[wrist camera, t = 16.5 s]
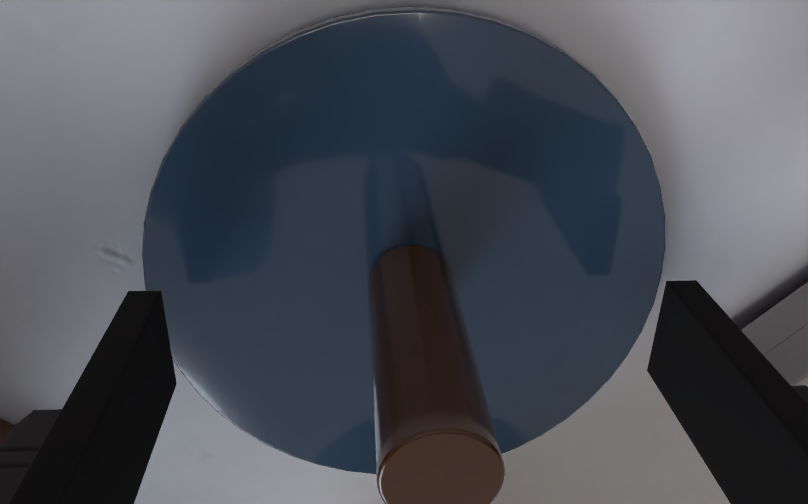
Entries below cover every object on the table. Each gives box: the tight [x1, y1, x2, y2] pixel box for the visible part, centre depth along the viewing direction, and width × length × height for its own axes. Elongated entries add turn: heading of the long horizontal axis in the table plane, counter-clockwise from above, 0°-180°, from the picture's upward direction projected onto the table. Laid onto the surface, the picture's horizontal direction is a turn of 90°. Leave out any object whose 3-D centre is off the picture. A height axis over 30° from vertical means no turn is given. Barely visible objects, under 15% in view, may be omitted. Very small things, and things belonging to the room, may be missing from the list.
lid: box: [142, 7, 665, 504], centre depth 17 cm, size 15×15×9 cm
